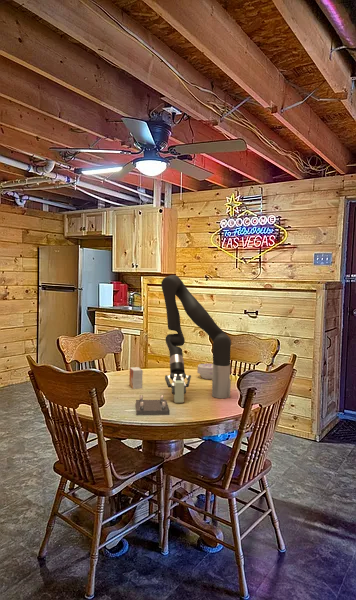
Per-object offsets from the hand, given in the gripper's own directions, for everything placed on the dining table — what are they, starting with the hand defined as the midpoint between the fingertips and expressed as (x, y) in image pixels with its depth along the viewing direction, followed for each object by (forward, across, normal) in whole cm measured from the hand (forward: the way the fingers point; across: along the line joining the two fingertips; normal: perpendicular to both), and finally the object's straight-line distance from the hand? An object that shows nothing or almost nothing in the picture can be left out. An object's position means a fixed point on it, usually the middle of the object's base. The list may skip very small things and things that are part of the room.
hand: (179, 393), depth 210 cm
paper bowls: (-34, +26, +41) cm, 60 cm away
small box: (-19, -21, +26) cm, 38 cm away
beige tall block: (+2, 0, +4) cm, 4 cm away
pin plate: (+10, -14, -4) cm, 18 cm away
